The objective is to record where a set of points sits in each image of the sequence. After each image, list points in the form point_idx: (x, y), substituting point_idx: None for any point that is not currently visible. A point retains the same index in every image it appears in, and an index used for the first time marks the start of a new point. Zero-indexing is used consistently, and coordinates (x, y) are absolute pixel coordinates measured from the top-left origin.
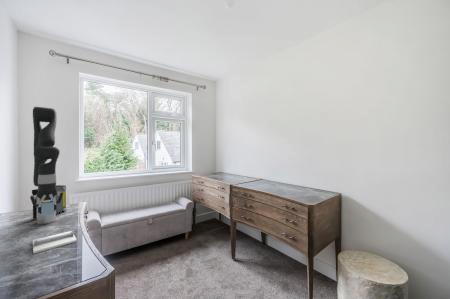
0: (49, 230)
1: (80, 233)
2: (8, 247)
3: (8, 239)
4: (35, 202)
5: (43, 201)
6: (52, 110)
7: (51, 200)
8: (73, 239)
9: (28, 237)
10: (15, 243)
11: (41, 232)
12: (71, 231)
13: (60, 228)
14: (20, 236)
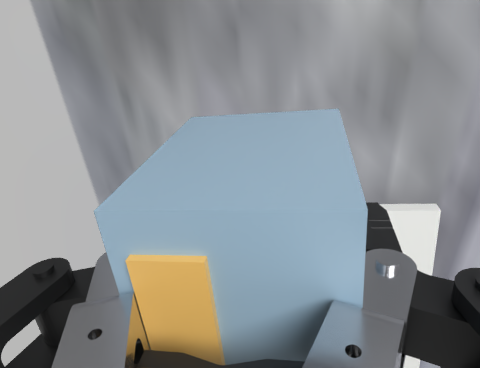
0: (301, 7)
1: (475, 267)
2: (110, 194)
3: (57, 24)
4: (26, 323)
5: (159, 310)
6: None
7: (326, 295)
8: (404, 364)
9: (173, 84)
10: (126, 152)
11: (245, 19)
12: (433, 227)
13: (388, 16)
14: (115, 9)
